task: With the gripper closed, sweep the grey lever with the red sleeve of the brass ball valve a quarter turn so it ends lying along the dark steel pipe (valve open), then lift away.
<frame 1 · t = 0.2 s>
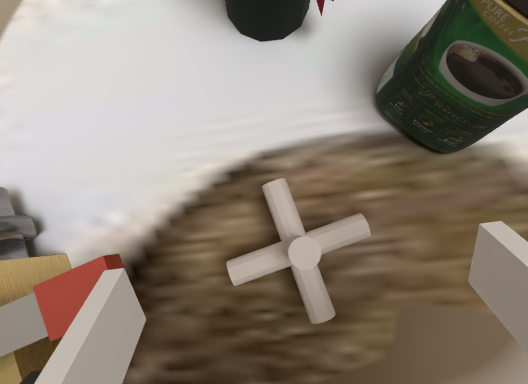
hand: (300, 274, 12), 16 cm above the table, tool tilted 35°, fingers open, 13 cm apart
coffee jar: (427, 103, 29), on the table
pipe connector: (292, 245, 28), on the table
wine bottle: (276, 11, 31), on the table
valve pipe: (44, 319, 28), on the table
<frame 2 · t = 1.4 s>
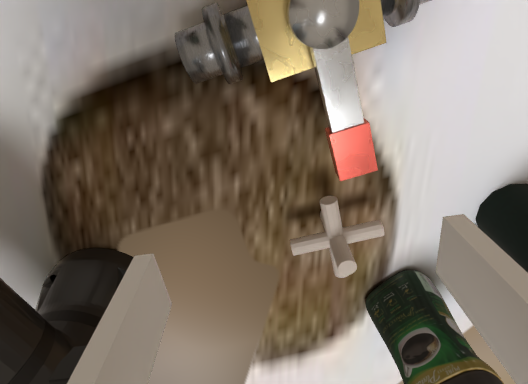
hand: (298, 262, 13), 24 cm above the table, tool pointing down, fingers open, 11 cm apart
coffee jar: (398, 292, 47), on the table
pipe connector: (326, 213, 40), on the table
lever: (337, 85, 23), point 10 cm above the table, hinge at -90.0°
wine bottle: (498, 216, 41), on the table
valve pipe: (302, 15, 30), on the table
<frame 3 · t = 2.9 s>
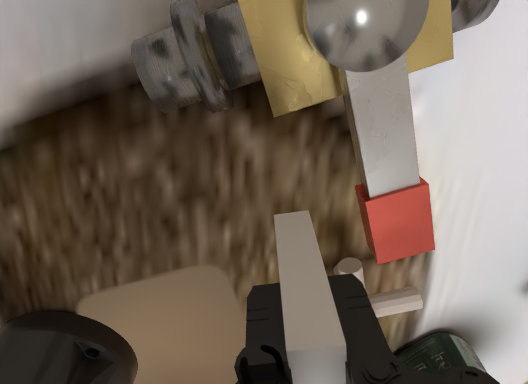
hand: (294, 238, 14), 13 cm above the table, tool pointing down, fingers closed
coffee jar: (426, 355, 38), on the table
pipe connector: (342, 268, 32), on the table
lever: (380, 127, 15), point 10 cm above the table, hinge at -90.0°
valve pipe: (316, 16, 22), on the table
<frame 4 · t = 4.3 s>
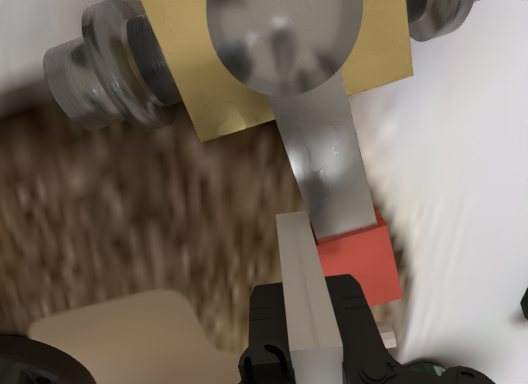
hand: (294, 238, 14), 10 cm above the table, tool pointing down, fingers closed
pipe connector: (314, 294, 29), on the table
lever: (323, 158, 12), point 10 cm above the table, hinge at -87.7°, touching gripper
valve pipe: (271, 21, 19), on the table
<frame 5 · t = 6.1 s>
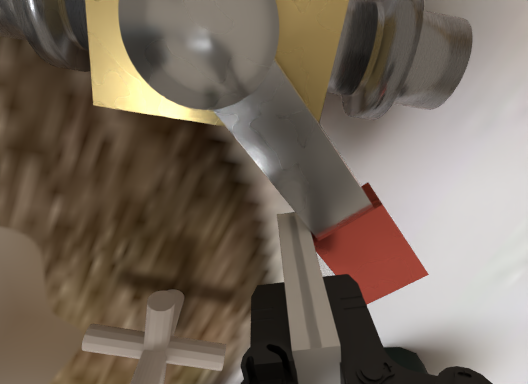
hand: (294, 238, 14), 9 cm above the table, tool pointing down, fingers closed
pipe connector: (174, 295, 29), on the table
lever: (296, 153, 12), point 10 cm above the table, hinge at -44.0°, touching gripper
wine bottle: (372, 372, 34), on the table
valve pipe: (233, 26, 19), on the table
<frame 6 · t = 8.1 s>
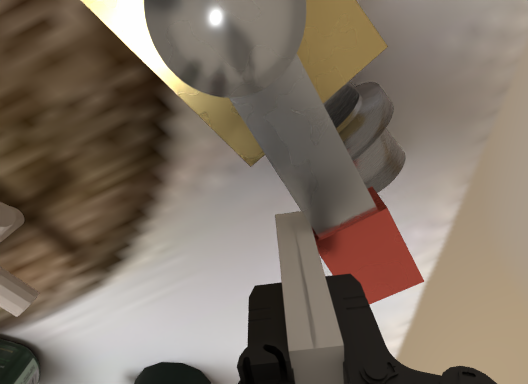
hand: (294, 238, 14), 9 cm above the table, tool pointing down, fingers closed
pipe connector: (13, 215, 25), on the table
lever: (306, 150, 12), point 10 cm above the table, hinge at -11.4°, touching gripper
wine bottle: (163, 382, 34), on the table
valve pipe: (244, 22, 19), on the table
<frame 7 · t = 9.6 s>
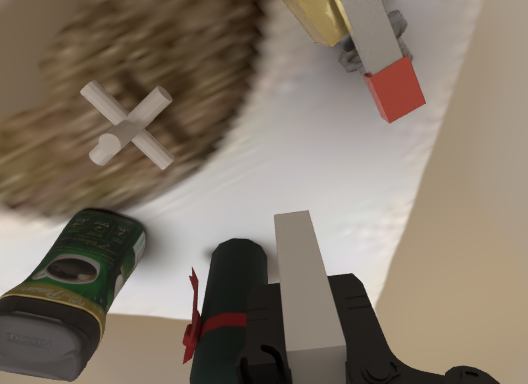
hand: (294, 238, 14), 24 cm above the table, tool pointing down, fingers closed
coffee jar: (111, 234, 43), on the table
pipe connector: (146, 114, 36), on the table
lever: (368, 26, 23), point 10 cm above the table, hinge at -11.4°
wine bottle: (231, 257, 46), on the table
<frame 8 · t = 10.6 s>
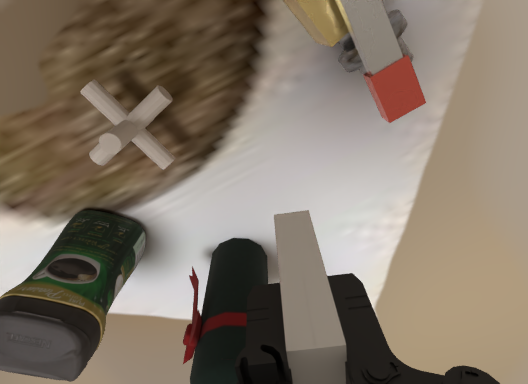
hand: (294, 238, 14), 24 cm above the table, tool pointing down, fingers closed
coffee jar: (111, 234, 43), on the table
pipe connector: (146, 114, 36), on the table
lever: (368, 26, 23), point 10 cm above the table, hinge at -11.4°
wine bottle: (231, 257, 46), on the table
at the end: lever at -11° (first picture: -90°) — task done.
